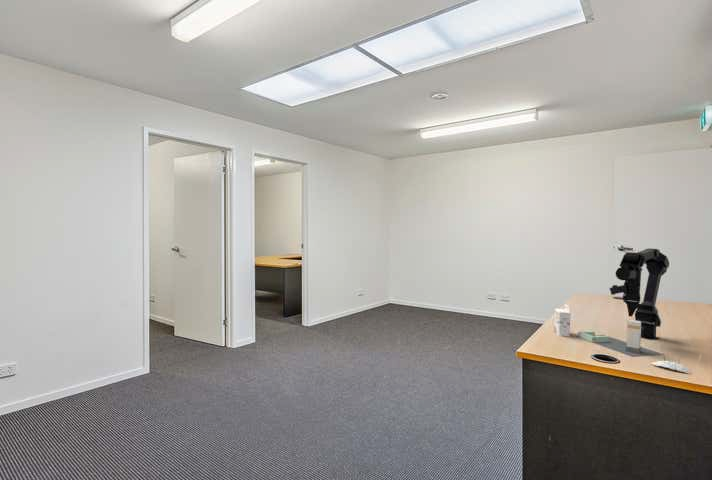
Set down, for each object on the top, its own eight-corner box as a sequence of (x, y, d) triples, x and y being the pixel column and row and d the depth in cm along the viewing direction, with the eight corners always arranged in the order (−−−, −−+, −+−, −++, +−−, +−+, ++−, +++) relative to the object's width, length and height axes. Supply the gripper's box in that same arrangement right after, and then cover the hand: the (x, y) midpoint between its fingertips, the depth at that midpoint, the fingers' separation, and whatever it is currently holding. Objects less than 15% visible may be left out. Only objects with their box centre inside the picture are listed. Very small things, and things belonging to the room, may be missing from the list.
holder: (594, 336, 186) (594, 331, 185) (610, 341, 177) (610, 336, 177) (578, 337, 184) (578, 331, 184) (593, 342, 175) (594, 337, 175)
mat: (603, 335, 189) (603, 334, 188) (665, 355, 159) (665, 354, 159) (574, 337, 185) (574, 336, 185) (632, 357, 156) (632, 356, 156)
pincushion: (648, 367, 146) (648, 352, 146) (654, 364, 150) (654, 349, 149) (689, 377, 136) (689, 361, 136) (694, 373, 140) (695, 358, 140)
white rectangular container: (627, 348, 166) (629, 319, 166) (641, 351, 163) (642, 321, 163) (625, 351, 163) (626, 321, 163) (639, 353, 160) (640, 323, 160)
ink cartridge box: (553, 332, 194) (554, 302, 193) (564, 332, 193) (565, 302, 192) (558, 336, 186) (559, 305, 185) (570, 337, 185) (571, 306, 184)
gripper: (612, 277, 189) (610, 310, 189) (610, 279, 173) (607, 314, 173) (641, 280, 182) (638, 314, 182) (641, 282, 167) (638, 318, 167)
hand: (630, 315), depth 176 cm, fingers open, 9 cm apart
